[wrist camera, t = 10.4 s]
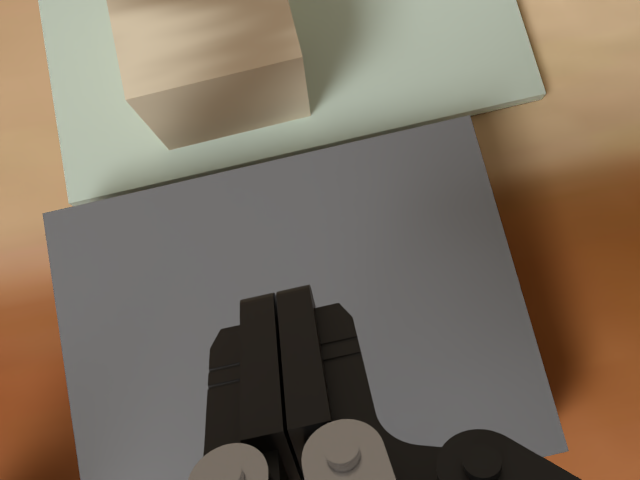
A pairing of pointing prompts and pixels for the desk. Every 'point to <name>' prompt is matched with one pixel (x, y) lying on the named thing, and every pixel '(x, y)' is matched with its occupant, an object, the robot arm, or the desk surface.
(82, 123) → the mat
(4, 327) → the desk surface
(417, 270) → the plate
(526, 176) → the desk surface
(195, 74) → the birch block
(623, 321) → the desk surface
